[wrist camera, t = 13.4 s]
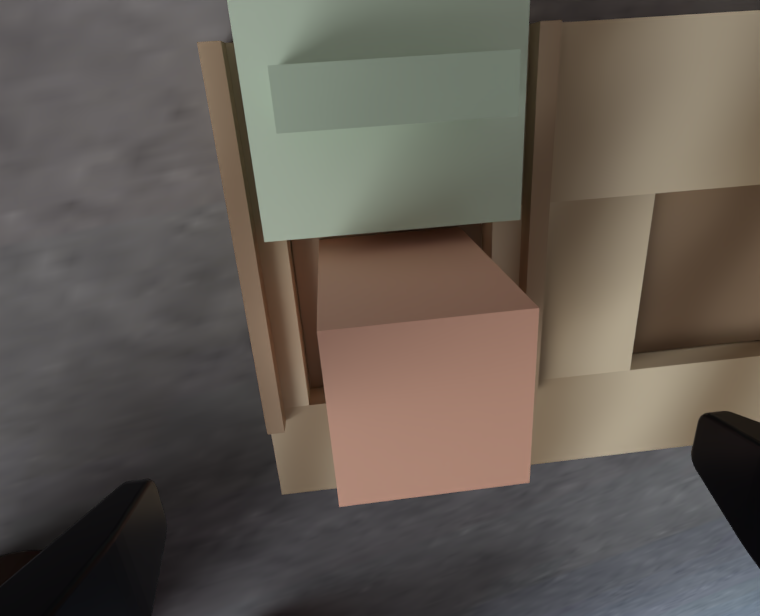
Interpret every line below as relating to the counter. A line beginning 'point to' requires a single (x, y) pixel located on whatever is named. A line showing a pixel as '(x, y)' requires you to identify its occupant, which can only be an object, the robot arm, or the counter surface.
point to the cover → (382, 112)
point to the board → (568, 241)
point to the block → (424, 366)
